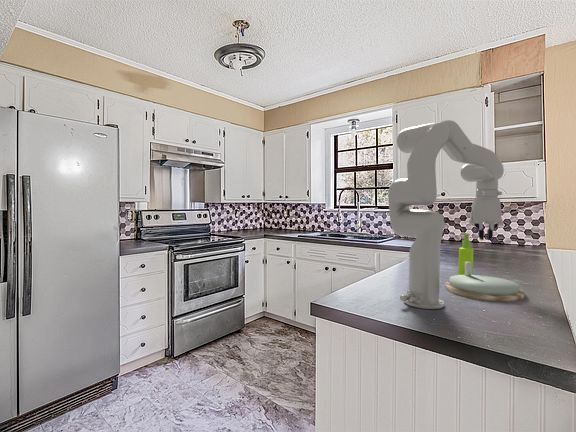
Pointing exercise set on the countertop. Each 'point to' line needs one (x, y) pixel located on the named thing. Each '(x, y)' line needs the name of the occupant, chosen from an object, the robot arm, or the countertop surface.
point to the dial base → (485, 296)
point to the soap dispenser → (465, 254)
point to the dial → (483, 283)
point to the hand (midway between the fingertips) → (485, 239)
